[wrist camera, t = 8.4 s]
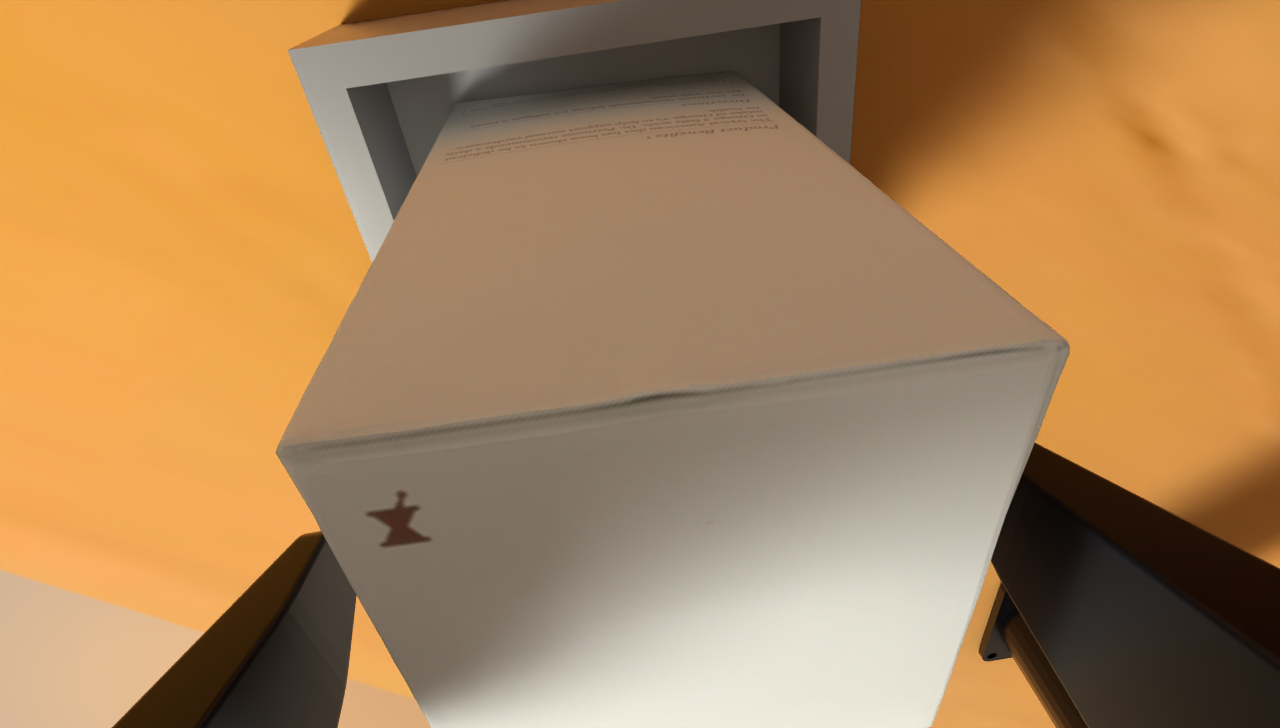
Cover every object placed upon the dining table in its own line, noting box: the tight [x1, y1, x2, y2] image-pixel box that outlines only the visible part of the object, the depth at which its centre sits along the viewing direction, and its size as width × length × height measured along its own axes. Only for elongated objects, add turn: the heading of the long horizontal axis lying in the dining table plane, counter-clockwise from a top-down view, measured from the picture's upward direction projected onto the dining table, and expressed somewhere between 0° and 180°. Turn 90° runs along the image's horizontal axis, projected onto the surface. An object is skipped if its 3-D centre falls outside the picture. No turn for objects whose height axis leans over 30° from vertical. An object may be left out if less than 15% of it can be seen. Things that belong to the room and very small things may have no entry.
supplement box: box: [276, 71, 1069, 728], centre depth 13 cm, size 7×7×13 cm
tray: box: [288, 0, 861, 263], centre depth 20 cm, size 21×11×4 cm, turn 7°
